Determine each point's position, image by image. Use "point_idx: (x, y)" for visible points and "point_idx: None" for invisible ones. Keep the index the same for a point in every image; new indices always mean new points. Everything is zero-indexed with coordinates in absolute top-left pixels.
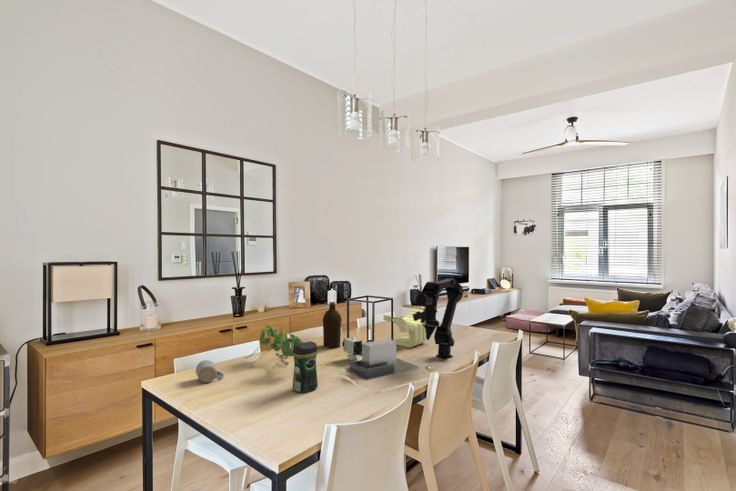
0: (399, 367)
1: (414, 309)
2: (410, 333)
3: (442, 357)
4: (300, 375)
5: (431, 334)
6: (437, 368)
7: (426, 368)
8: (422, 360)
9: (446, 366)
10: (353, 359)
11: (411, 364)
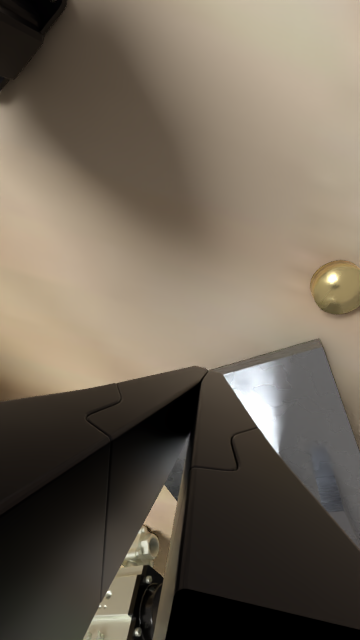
0: (281, 439)
1: None
2: None
3: (40, 35)
4: None
5: (252, 424)
6: (327, 199)
7: (352, 308)
8: (118, 257)
9: (298, 82)
10: (156, 552)
11: (241, 371)
